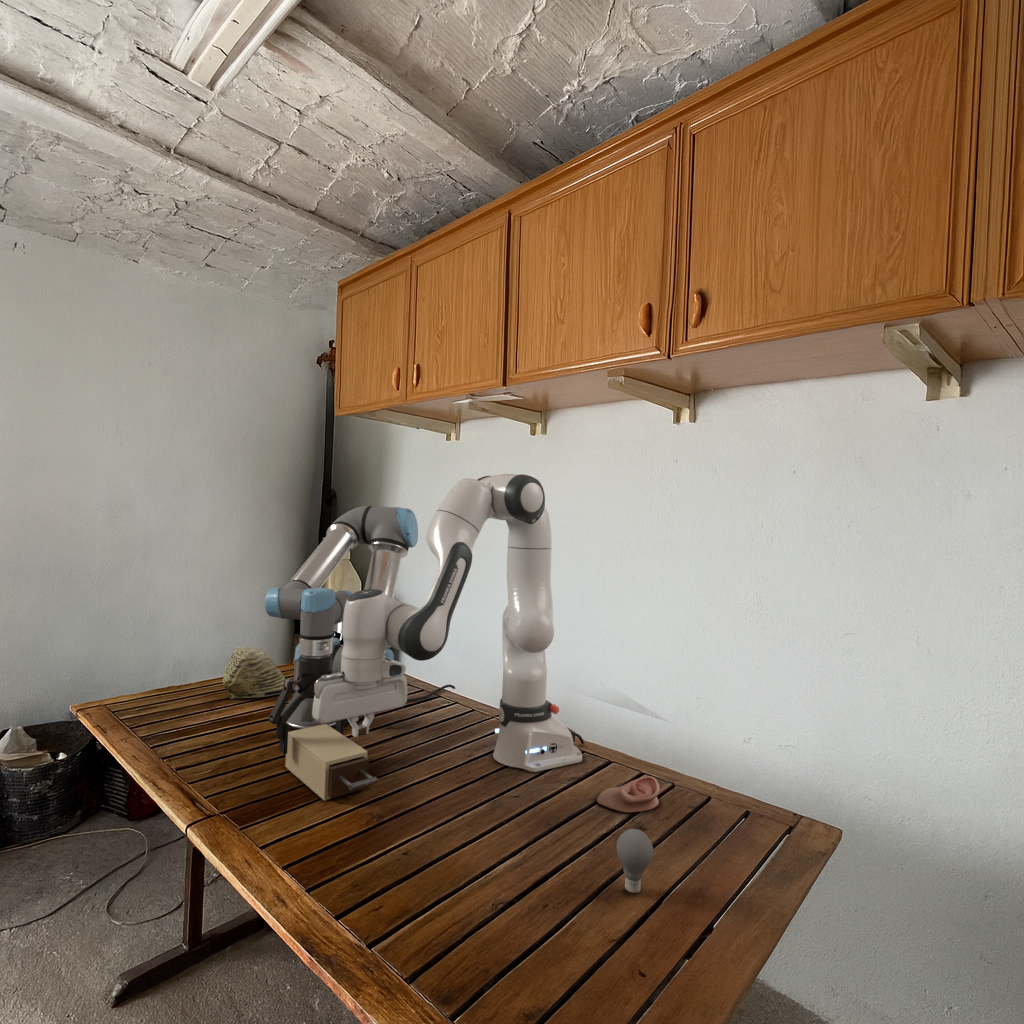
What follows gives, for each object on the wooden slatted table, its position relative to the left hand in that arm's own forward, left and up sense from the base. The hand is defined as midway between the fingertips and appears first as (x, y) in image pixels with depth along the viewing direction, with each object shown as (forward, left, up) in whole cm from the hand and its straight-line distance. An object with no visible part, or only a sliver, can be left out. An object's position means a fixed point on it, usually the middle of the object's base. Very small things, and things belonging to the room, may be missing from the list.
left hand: (311, 745), depth 148 cm
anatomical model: (-37, +63, -5) cm, 73 cm away
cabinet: (+1, +7, -5) cm, 8 cm away
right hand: (+4, +22, +9) cm, 24 cm away
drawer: (+2, +12, -4) cm, 13 cm away
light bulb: (-9, +79, -5) cm, 80 cm away
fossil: (-18, -58, -5) cm, 61 cm away
